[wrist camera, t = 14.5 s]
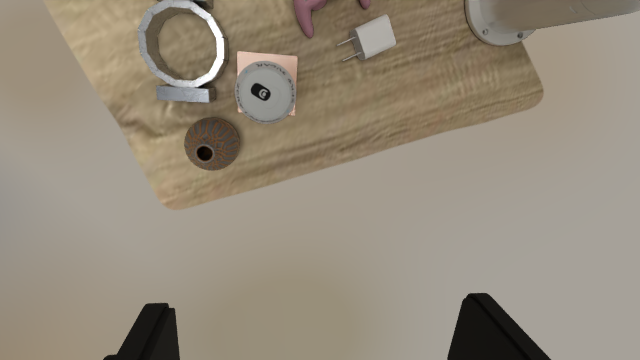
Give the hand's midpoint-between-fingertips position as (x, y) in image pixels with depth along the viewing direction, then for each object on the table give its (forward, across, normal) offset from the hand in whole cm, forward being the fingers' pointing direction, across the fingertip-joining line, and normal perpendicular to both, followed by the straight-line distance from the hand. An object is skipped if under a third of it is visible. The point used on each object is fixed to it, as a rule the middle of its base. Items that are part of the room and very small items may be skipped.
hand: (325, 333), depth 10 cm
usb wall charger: (+39, -10, -12) cm, 42 cm away
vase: (+38, +10, +2) cm, 40 cm away
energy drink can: (+38, +3, -6) cm, 38 cm away
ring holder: (+38, +13, -10) cm, 42 cm away
